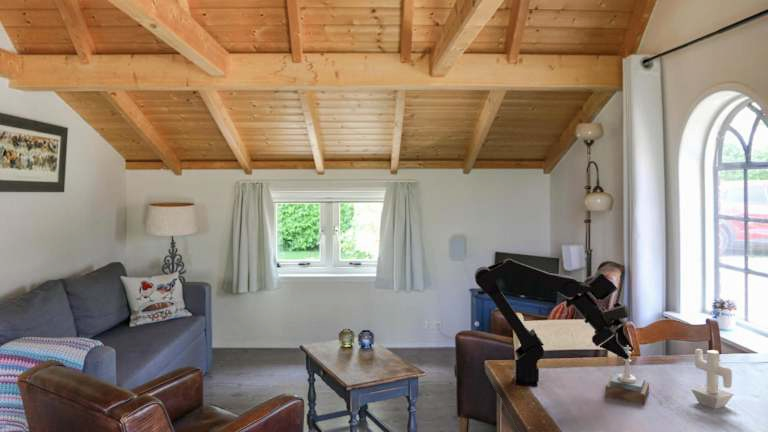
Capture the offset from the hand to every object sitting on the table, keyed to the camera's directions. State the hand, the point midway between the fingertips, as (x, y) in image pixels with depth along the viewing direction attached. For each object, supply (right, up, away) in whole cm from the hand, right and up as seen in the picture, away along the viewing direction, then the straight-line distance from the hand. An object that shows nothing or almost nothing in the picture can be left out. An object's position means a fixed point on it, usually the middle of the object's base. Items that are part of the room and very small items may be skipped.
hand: (630, 354), depth 141 cm
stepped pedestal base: (-1, -12, +1) cm, 12 cm away
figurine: (+20, -13, -6) cm, 24 cm away
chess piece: (-1, -8, +1) cm, 8 cm away
